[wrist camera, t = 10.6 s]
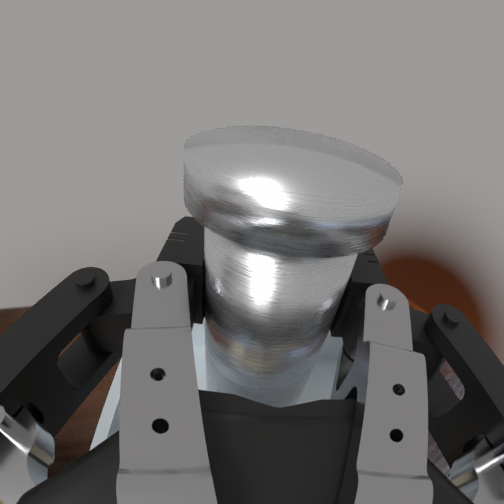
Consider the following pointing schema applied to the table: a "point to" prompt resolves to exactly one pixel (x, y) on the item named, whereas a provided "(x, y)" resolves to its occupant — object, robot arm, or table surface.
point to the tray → (109, 420)
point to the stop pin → (279, 247)
